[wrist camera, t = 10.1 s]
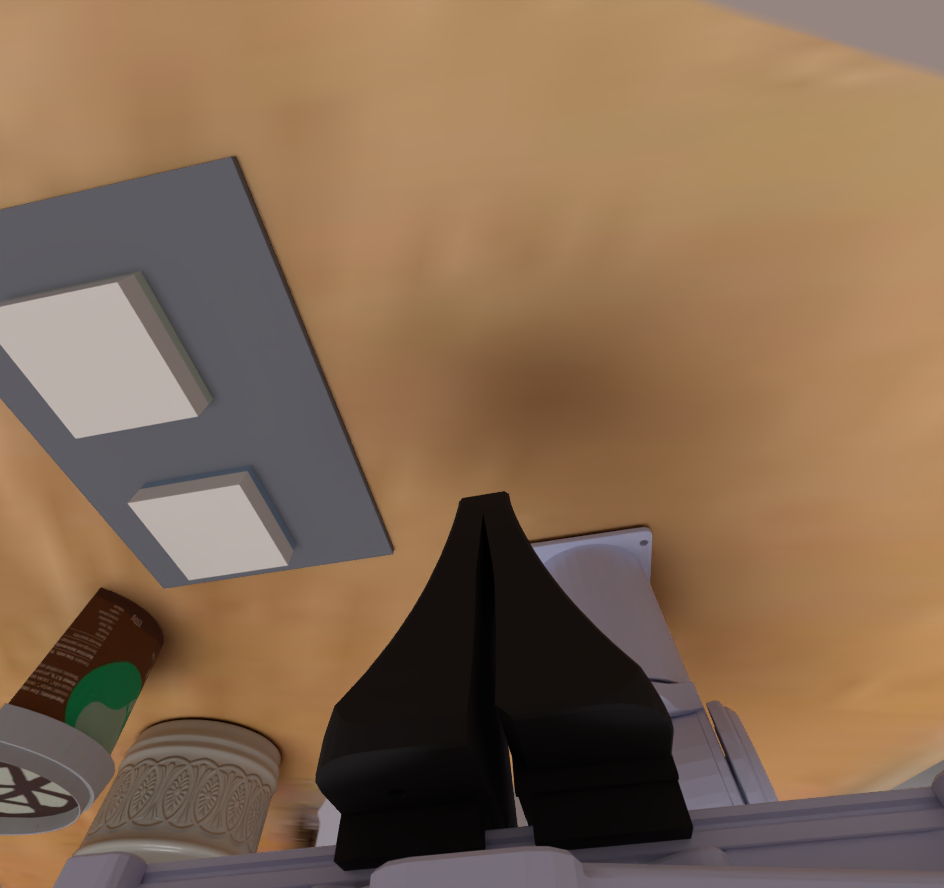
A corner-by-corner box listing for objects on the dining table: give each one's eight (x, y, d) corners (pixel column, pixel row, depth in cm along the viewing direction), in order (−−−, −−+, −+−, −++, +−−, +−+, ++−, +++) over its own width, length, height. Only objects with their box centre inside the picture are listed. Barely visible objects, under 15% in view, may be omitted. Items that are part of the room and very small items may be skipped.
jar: (102, 725, 40) (-99, 1067, 26) (243, 706, 39) (116, 1054, 24) (185, 786, 48) (64, 1080, 33) (306, 772, 46) (237, 1070, 32)
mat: (393, 549, 29) (393, 554, 29) (166, 583, 30) (163, 588, 30) (235, 156, 17) (230, 157, 17) (-124, 238, 19) (-135, 240, 18)
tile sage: (198, 416, 21) (75, 438, 22) (213, 399, 22) (97, 420, 23) (117, 282, 18) (-26, 312, 18) (140, 270, 19) (7, 299, 20)
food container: (156, 690, 37) (70, 851, 29) (70, 667, 35) (-49, 834, 27) (204, 608, 32) (115, 778, 24) (105, 574, 30) (-31, 748, 21)
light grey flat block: (287, 565, 27) (189, 580, 27) (295, 544, 28) (201, 558, 29) (239, 484, 23) (127, 503, 24) (250, 465, 25) (144, 483, 25)
